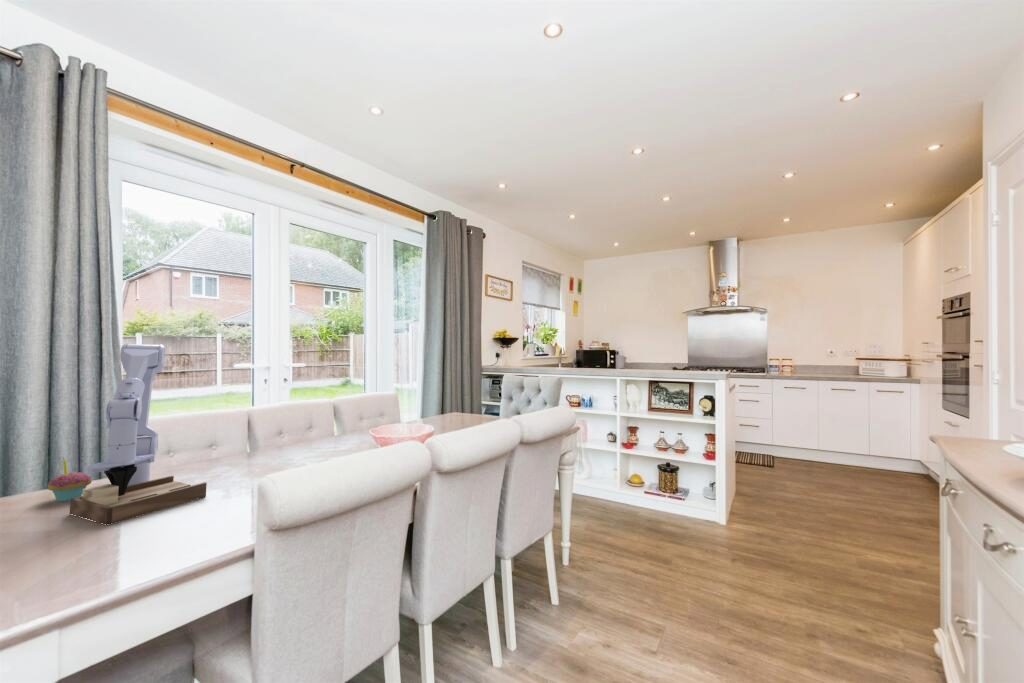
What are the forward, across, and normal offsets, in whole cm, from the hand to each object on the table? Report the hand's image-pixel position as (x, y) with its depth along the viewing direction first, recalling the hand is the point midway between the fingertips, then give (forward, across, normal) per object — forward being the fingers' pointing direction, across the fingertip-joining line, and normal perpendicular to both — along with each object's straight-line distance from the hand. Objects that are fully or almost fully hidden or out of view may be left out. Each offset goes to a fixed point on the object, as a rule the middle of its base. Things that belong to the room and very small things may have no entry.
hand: (119, 495), depth 112 cm
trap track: (+3, +4, -3) cm, 6 cm away
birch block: (+1, -4, 0) cm, 4 cm away
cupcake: (+4, -2, +20) cm, 20 cm away
